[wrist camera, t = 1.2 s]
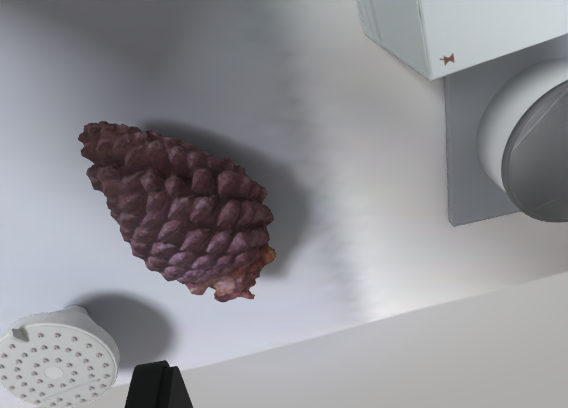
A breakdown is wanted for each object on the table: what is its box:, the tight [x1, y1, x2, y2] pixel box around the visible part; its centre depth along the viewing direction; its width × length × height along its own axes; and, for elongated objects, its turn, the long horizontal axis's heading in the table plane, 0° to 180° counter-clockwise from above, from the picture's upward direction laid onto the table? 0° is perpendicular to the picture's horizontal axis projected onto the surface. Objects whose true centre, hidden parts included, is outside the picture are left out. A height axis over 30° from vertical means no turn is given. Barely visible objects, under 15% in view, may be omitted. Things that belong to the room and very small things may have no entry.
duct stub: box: [444, 33, 568, 227], centre depth 37 cm, size 15×15×6 cm
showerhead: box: [0, 305, 120, 408], centre depth 41 cm, size 9×7×10 cm
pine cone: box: [78, 121, 276, 302], centre depth 34 cm, size 18×10×10 cm, turn 38°
